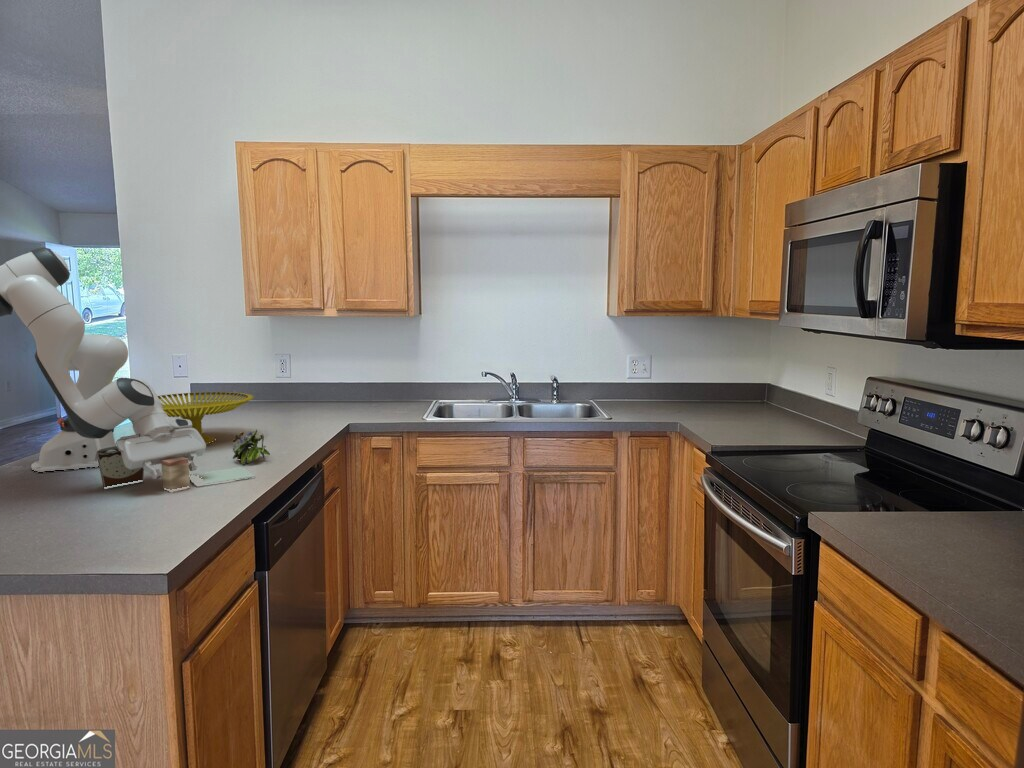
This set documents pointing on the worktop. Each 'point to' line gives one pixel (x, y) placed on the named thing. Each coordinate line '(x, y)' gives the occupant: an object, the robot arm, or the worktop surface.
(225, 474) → the sage mat
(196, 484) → the worktop surface
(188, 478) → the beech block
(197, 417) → the cake stand
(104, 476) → the food container
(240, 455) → the passion flower
